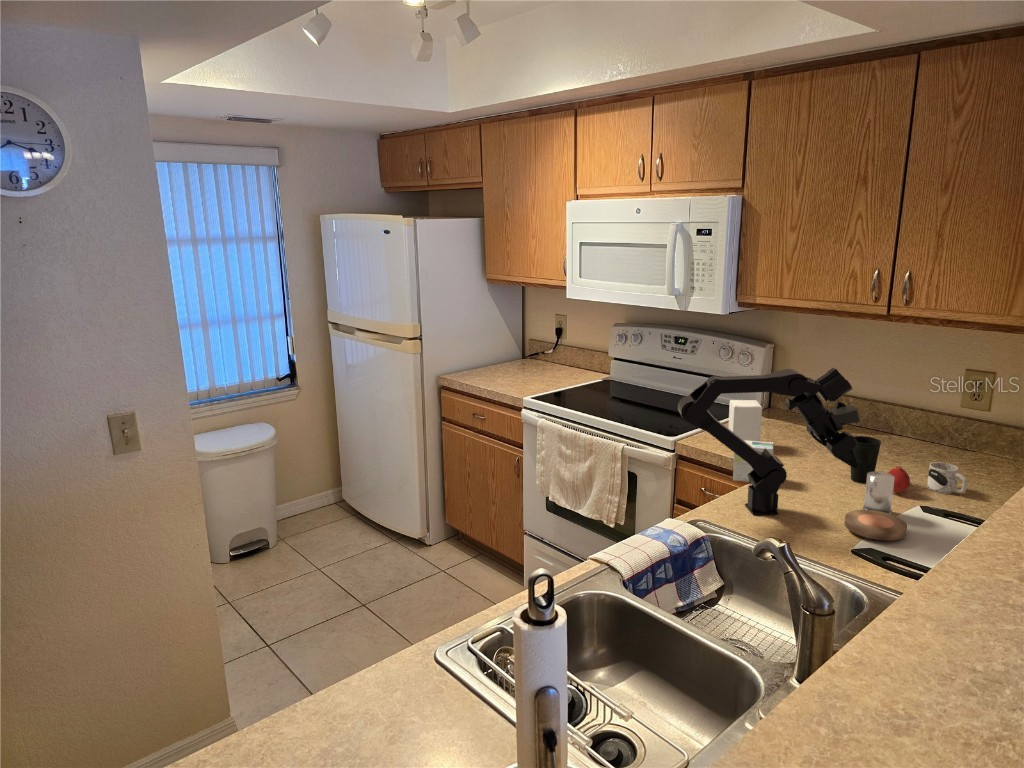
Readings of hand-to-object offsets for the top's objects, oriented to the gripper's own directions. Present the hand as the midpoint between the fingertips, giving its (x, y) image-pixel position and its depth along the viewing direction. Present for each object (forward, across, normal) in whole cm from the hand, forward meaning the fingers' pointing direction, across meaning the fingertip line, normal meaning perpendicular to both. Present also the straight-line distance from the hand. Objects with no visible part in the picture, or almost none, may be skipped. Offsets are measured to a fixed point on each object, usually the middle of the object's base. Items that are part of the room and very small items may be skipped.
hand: (849, 461), depth 168 cm
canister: (+16, -1, +2) cm, 16 cm away
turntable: (+12, -12, +6) cm, 18 cm away
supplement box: (+4, +52, +18) cm, 56 cm away
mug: (+30, +14, -18) cm, 38 cm away
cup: (+19, +22, -2) cm, 29 cm away
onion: (+22, +13, -6) cm, 26 cm away
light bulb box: (+1, +23, +22) cm, 32 cm away
